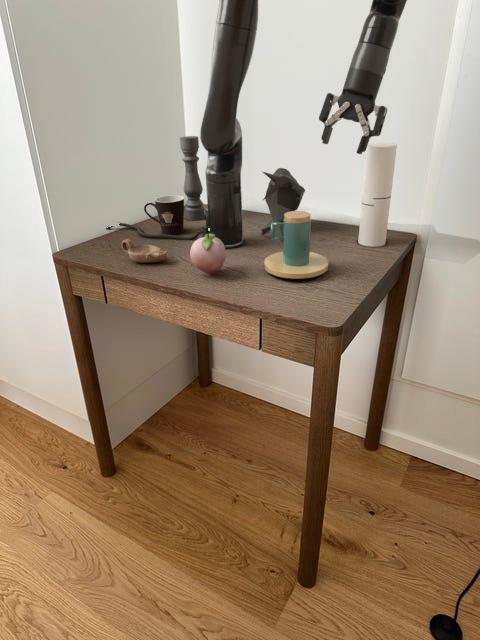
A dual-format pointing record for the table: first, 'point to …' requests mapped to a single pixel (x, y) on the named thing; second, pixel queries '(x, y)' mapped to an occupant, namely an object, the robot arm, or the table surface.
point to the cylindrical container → (376, 193)
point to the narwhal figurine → (281, 198)
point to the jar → (295, 249)
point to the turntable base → (295, 279)
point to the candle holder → (192, 178)
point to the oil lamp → (143, 252)
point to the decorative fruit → (208, 253)
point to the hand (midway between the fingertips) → (341, 148)
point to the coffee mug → (169, 213)
